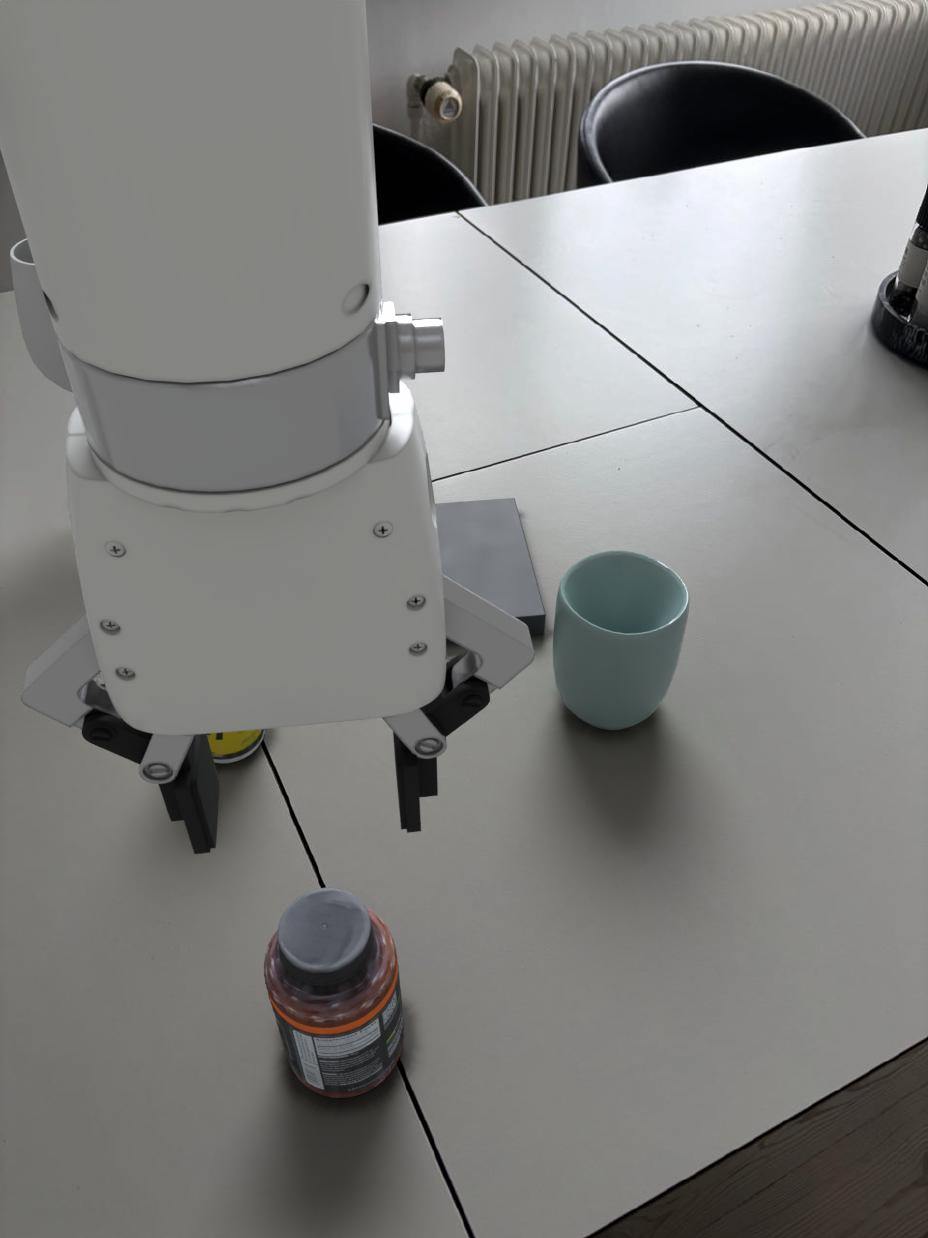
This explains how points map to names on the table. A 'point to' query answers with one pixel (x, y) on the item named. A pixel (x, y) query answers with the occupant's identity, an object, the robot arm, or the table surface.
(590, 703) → the cup
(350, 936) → the supplement bottle
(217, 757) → the supplement bottle
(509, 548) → the scale
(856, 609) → the table surface
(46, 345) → the wineglass
